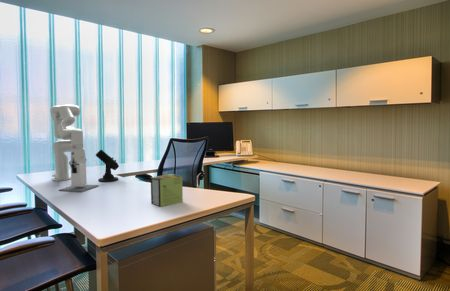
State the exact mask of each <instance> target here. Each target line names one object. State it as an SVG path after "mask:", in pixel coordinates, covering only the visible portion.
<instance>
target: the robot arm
mask: <svg viewBox="0 0 450 291" xmlns="http://www.w3.org/2000/svg"><path fill="white" fill-rule="evenodd" d="M49 112H50V116H51V118H52V121H53V134H54V138H55V139H57V140H56V141H54V142H53V143H52V150H53V155H54V169H55V170H54V171H55V172H54V173H52V177H53V181H54V182H56V181H57V182H58V181H59V182H60V181H61V182H62V181H69V180H71V176H70V172H69V170H70V169H71V168H72V173H77V168H76V165H77V164H78V163H84V162H85V163H86V162H87V160H88V159H87V157H86V151H85V148H84V132H83V130H82V129H80V128H75V127H73V126H72V125H73V124H75V121H76V119H75V117H79V116H80V115H81V109H80V107H79V106H78V105H75V104H63V105H53V106H51V107H50V111H49ZM66 153H70V160H69V157H68V155H67V154H66ZM74 164H75V165H74ZM86 164H87V163H86ZM69 166H70V169H69Z"/></svg>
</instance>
